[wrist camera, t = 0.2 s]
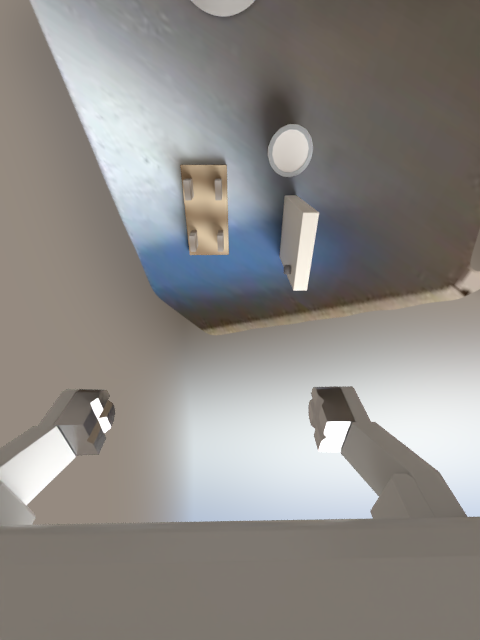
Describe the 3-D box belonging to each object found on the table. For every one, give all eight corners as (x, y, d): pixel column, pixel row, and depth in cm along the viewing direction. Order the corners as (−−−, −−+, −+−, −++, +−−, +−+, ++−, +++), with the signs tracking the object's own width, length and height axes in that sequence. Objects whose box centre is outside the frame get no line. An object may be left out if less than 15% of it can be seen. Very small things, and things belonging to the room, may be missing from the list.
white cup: (309, 158, 46) (320, 160, 40) (275, 181, 48) (280, 186, 42) (292, 117, 43) (302, 112, 37) (256, 143, 45) (259, 142, 39)
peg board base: (181, 164, 46) (175, 166, 42) (226, 164, 47) (225, 166, 42) (190, 252, 55) (186, 261, 51) (228, 252, 55) (228, 261, 51)
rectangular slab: (279, 195, 49) (296, 212, 36) (296, 195, 50) (319, 212, 36) (274, 256, 56) (287, 290, 43) (289, 256, 56) (306, 290, 43)
